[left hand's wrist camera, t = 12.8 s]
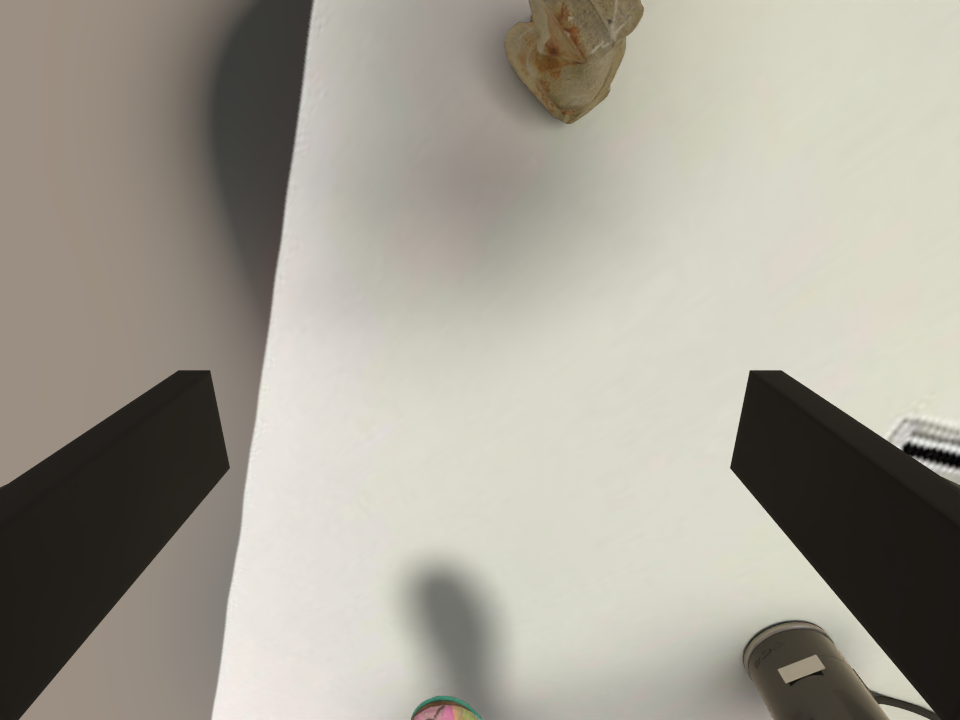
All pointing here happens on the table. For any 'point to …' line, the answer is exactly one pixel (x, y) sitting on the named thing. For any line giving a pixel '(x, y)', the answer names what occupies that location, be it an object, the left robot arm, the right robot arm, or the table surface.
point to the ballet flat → (444, 710)
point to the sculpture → (571, 51)
